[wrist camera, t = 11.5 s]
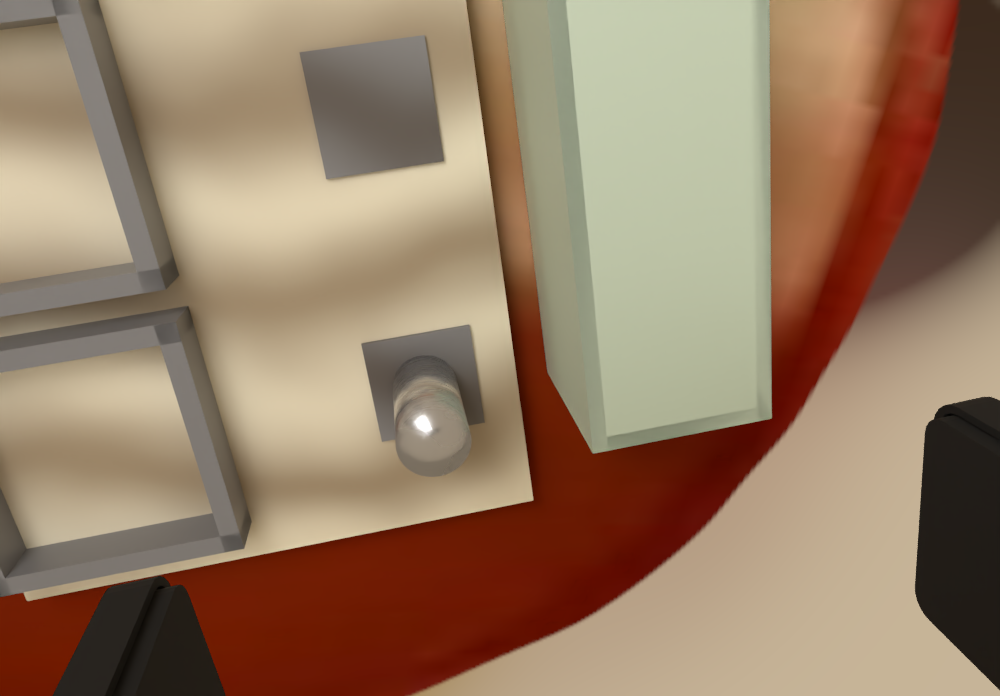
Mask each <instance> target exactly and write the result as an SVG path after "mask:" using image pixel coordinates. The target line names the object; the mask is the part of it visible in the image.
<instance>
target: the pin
mask: <svg viewBox="0 0 1000 696" xmlns="http://www.w3.org/2000/svg"><path fill="white" fill-rule="evenodd" d="M393 402H394V423H395V443H396V452H397V455H398V457H399V459H400V461H401V462H402V464H403V465H404V466H405V467H406V468H407V469H408V470H410V471H411V472H413V473H415V474H418V475H421V476H425V477H438V476H443V475H446V474H449V473H451V472H453V471H454V470H456V469H457V468H458V467H460V466H461V465H462V464H463V463H464V461H465V460H466V458H467V457H468V455H469V452H470V449H471V442H472V440H471V434H470V430H469V426H468V422H467V418H466V414H465V410H464V406H463V402H462V399H461V395H460V391H459V387H458V383H457V379H456V375H455V373H454V371H453V369H452V368H451V366H450V365H449V364H448V363H447V362H445V361H444V360H442V359H441V358H438V357H435V356H430V355H421V356H416V357H413V358H411V359H409V360H407V361H406V362H404V363H403V364H402V365H401V366H400V367H399V368H398V370H397V372H396V374H395V376H394V379H393Z"/></svg>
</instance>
